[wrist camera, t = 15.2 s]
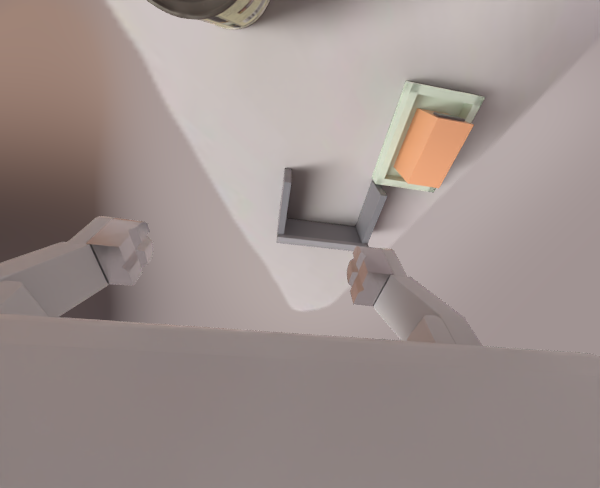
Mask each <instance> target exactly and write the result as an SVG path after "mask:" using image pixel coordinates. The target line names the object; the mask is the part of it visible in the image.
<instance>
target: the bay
mask: <svg viewBox="0 0 600 488" xmlns="http://www.w3.org/2000/svg"><path fill="white" fill-rule="evenodd" d="M290 189H291V169H288V168H285V172H284V180H283V188H282V196H281V204H280V212H279V220H278V231H277V243H283V244H293V245H302V246H311V247H320V248H329V249H338V250H348V251H354V249H355V247H356V246H362V247H368V241H369V239H370V237H371V234H372V232H373V229H374V227H375V225H376V222H377V220H378V218H379V215H380V213H381V210H382V208H383V206H384V203H385V201H386V198H387V195H386V193H385V192H384V190H383V189H382V187H381V185H379V184H375V182H374V181H372V182H371V185H370V188H369V191H368V193H367V196H366V199H365V202H364V204H363V207H362V210H361V213H360V216H359V218H358V221H357V224H356V227H353V226H345V225H337V224H329V223H320V222H312V221H304V220H296V219H287V218H286V216H287V209H288V202H289V196H290Z"/></svg>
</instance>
